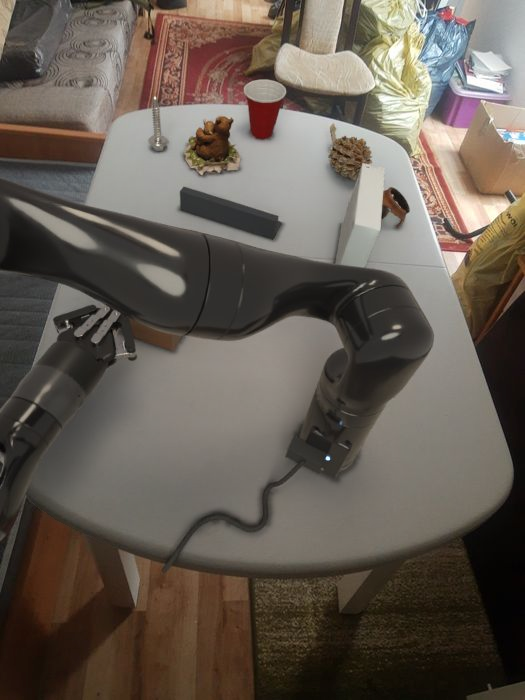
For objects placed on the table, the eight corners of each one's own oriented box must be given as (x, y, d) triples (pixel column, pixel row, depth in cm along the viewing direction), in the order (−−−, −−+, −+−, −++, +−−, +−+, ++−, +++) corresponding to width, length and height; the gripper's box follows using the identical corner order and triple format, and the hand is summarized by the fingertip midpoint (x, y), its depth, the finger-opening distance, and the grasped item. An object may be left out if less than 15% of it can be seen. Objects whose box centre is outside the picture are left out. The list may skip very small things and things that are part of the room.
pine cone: (374, 189, 120) (387, 152, 112) (340, 193, 117) (350, 156, 109) (338, 142, 132) (347, 106, 124) (306, 145, 129) (313, 108, 122)
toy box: (173, 351, 83) (170, 316, 76) (121, 332, 85) (114, 296, 77) (197, 312, 89) (197, 276, 82) (148, 295, 91) (144, 258, 83)
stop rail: (272, 239, 104) (275, 221, 100) (180, 210, 107) (179, 191, 103) (281, 224, 108) (284, 205, 104) (191, 196, 111) (191, 176, 107)
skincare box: (357, 293, 97) (381, 230, 84) (331, 287, 97) (350, 223, 84) (364, 229, 110) (386, 166, 97) (341, 224, 110) (359, 161, 97)
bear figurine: (229, 140, 127) (232, 92, 117) (245, 172, 119) (250, 124, 109) (178, 143, 123) (176, 95, 114) (191, 177, 115) (190, 128, 105)
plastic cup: (232, 129, 131) (235, 83, 121) (264, 120, 135) (268, 75, 126) (256, 148, 126) (261, 102, 116) (288, 138, 130) (295, 93, 121)
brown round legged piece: (366, 202, 117) (392, 179, 111) (390, 232, 118) (417, 210, 112) (348, 215, 108) (376, 190, 103) (375, 247, 109) (404, 224, 103)
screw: (158, 155, 119) (144, 148, 121) (172, 148, 122) (158, 141, 123) (154, 103, 109) (139, 95, 110) (169, 96, 111) (154, 88, 113)
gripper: (100, 388, 57) (167, 293, 67) (3, 350, 58) (83, 263, 69) (109, 419, 63) (169, 327, 73) (20, 384, 64) (92, 299, 75)
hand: (127, 296), depth 71 cm, fingers closed
